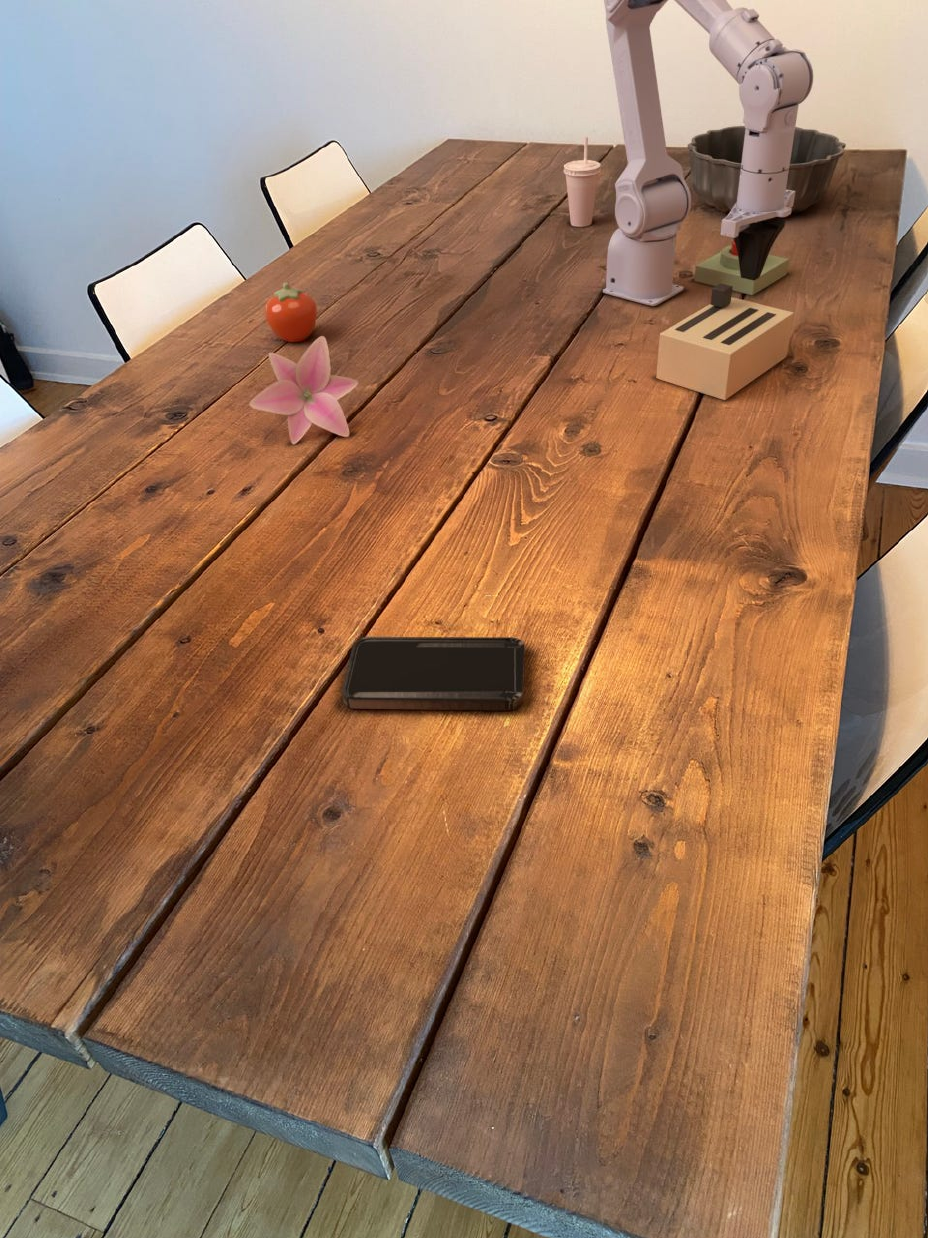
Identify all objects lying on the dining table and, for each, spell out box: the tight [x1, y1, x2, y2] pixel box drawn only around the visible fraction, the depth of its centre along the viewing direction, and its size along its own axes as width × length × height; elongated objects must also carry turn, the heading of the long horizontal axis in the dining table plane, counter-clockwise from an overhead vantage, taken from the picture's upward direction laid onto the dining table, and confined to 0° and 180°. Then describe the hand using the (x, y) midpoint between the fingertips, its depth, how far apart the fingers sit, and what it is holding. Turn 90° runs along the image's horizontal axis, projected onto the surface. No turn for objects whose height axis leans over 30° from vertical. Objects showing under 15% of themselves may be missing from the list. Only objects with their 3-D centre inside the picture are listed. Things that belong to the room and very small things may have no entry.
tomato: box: [264, 281, 318, 343], centre depth 135 cm, size 7×7×8 cm
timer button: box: [731, 240, 738, 256], centre depth 142 cm, size 4×4×2 cm
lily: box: [249, 335, 360, 445], centre depth 114 cm, size 12×12×10 cm
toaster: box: [656, 296, 795, 401], centre depth 120 cm, size 10×15×6 cm, turn 137°
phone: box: [341, 636, 525, 711], centre depth 80 cm, size 8×1×15 cm
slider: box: [710, 284, 733, 308], centre depth 121 cm, size 2×2×2 cm
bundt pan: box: [687, 125, 847, 214], centre depth 168 cm, size 26×26×10 cm
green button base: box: [693, 244, 790, 296], centre depth 143 cm, size 10×10×4 cm
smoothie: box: [563, 136, 602, 228], centre depth 164 cm, size 6×6×14 cm
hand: (750, 277), depth 125 cm, fingers closed
